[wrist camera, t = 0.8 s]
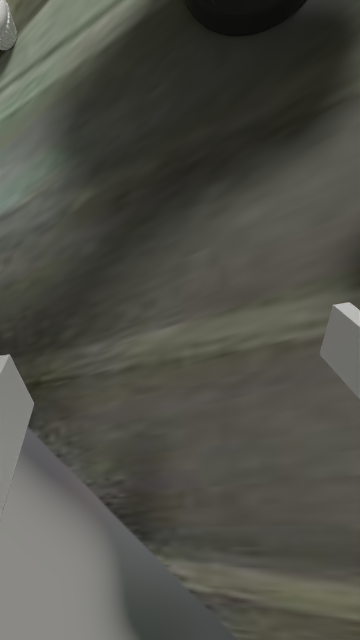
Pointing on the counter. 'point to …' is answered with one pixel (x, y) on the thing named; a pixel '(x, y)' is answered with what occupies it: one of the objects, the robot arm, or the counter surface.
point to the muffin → (6, 27)
